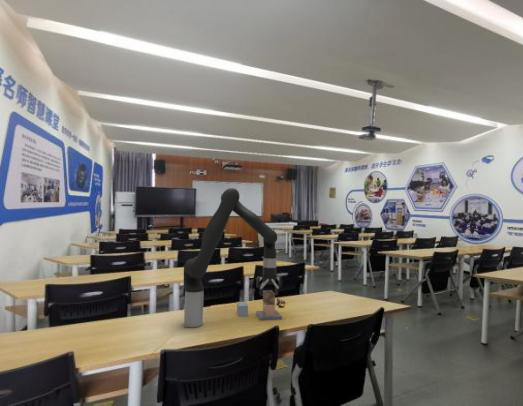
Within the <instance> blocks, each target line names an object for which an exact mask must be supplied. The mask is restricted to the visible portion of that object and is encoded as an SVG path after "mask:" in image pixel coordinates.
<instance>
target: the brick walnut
mask: <svg viewBox="0 0 523 406" xmlns="http://www.w3.org/2000/svg"><path fill="white" fill-rule="evenodd" d="M263 302H264V303H265V304H266V305H275V306H276V295H275V292H274V291H273V290H270V289H269V290H264V289H263V296H262V303H263Z"/></svg>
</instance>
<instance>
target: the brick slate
mask: <svg viewBox="0 0 523 406" xmlns="http://www.w3.org/2000/svg"><path fill="white" fill-rule="evenodd" d="M236 313H237V316H238V317H240V318H241V317H249V316H248V315H249V305H248V303H247V301H237V302H236Z"/></svg>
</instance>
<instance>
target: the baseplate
mask: <svg viewBox="0 0 523 406" xmlns="http://www.w3.org/2000/svg"><path fill="white" fill-rule="evenodd" d="M255 314H256V316H257V317H258V320H259V321H275V320H276V321H277V320H278V321H279V320H282V319H283V317H282V314H280V312H279V311H278V310H276V304H275V305H266V304H265V303H264V302H263V301H262V310H256V311H255Z"/></svg>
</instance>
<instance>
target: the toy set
mask: <svg viewBox="0 0 523 406" xmlns="http://www.w3.org/2000/svg"><path fill="white" fill-rule="evenodd" d="M285 304H286V301H285V300H283V299H281V298H280V297H277V298H276V306H277V307H278V308H281V309H283V308H285Z"/></svg>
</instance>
